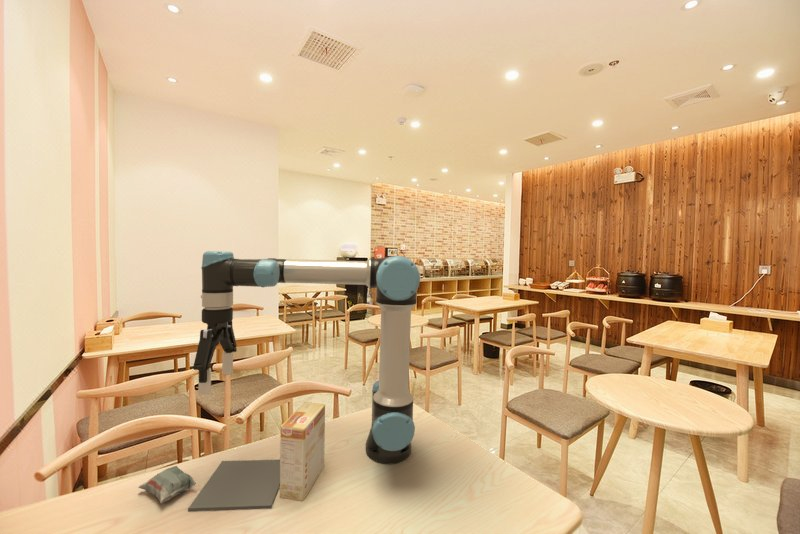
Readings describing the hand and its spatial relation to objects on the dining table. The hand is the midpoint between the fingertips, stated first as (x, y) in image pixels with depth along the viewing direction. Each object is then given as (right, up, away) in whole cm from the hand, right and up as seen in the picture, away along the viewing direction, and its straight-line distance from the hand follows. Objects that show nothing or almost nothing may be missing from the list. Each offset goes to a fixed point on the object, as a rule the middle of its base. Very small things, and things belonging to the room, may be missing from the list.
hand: (216, 383), depth 92 cm
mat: (+7, -28, +1) cm, 29 cm away
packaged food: (-11, -28, -4) cm, 31 cm away
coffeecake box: (+23, -29, +3) cm, 37 cm away
